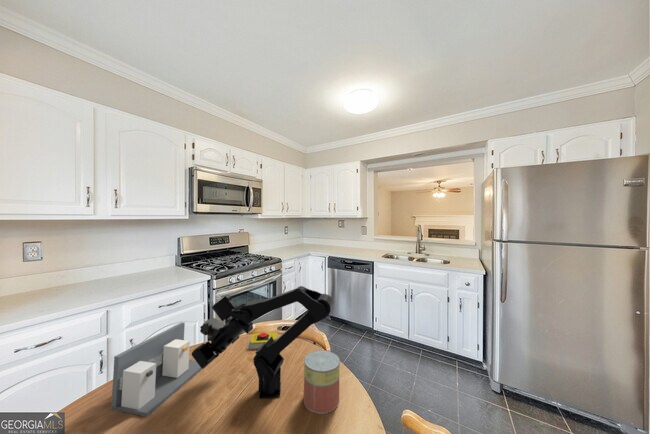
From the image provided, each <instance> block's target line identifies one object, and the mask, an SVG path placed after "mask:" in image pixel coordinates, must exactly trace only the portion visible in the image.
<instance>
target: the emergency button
mask: <svg viewBox="0 0 650 434" xmlns="http://www.w3.org/2000/svg"><path fill="white" fill-rule="evenodd" d="M251 336H252V337H251V338H250V339H251V341H249V340H248V344H247V347H246V350H248V349H250V350H258V349H259V348H260V347H261V346H262V345H263V344H264V343H265V342H267V341H268V340H269V339H270V338H271V336H272V338H273V340H274V339H277V337H278V333H277V331H275V332H274V331H273V332H258V333H257V332H255V333H253V334H252V335H251Z"/></svg>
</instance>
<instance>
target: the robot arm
mask: <svg viewBox="0 0 650 434" xmlns="http://www.w3.org/2000/svg"><path fill="white" fill-rule="evenodd" d="M294 303H299V304H300V305H301V306H303V307H304V308H305V309H306V310H307V311H306V312H304V314H303V315H302V316H301V317H300V318H299V319H297V320H296V321H295V322H293V324H292V325H291V326H290V327H288V329H286V330H285V331H284V332H283V333H282V334H281V335H280V336H277V337H278V338H277V339H274V340H273V338H272V336H271V338H270V339H269V340H268V341H267V342H265V343H264V344H263V345H262V346H261V347H260V348H259V349H256V351H255V355H254V357H253V359H252V360H253V366H254V367H255V371H256V373H257V377H258V391H257V392H258V393H259V399H267V398H276V397H280V396H281V392H282V391H281V390H282V389H281V388H282V387H281V386H282V383H281V382H282V381H281V378H282V377H281V375H282V373H281V371H282V365H283V364H284V360H285V358H284V357H283V356H282V355H281V353H282V352H283V350H285V349H286V348H288V346H289V345H290V344H292V343H293V342H294V341H295V340H296V339H297V338H298V337H299V336H300V335H302V334H303V333H304V332H305V331H306V330H307V329H308V328H309V327H311V326H312V325H314V324H316V323H319V322H321V321H323V320H324V319H326V318H327V317H329V315H330V314H331V311H332V309H333V306H334V300H333V297H331V295H329V294H328V293H321V292H319V291H316V290H313V289H310V288H307V287H305V286H302V285H300V286H298V287H296V288H293V289H291V290H288V291H285V292H283V293H280V294H277V295H274V296H272V297H269V298H264V299H263V298H260V299H253V300H251V301H249V302H248V303H247V302H246V303H241V304H239V305H238V304H237V303H235V301H234V300H233V298H232V297H231V295H230V294H227V295H224V296H223V298H221V299H219V300H218V301H217V302H215V303H214V304H213V305H212V306H211V309H212V311H213V312H214V313H215V314H216V315H217V316H218V317H217V318H219V319H220V320H221V321H220V320H218V319H217V318H215V317H211V318H209V319H206V320H205V321H204V323H203V324H202V325H201V326H200V333H201V334H202V335H204V336H209V340H208V341H206V342H205V343H204V342H203V343H201V344H200V345H199V346H197V347H196V348H195V349H193V350H192V352H191V356H192V358H193V359H194V361H196V362H197V363H198V364H199V366H200V367H201V368H203V369H204V370H205V368H206V367H207V366H209V365H210V364H211V363H212V362H213V361H214V360H215V359H216V358H218V357H219V356H220V354H222V353H223V352H225V351H226V350H227V348H228V347H229V346H231V345H233V344H235V342H236V341H238V339H240V334H242V333H243V332H245V334H247V335H248V334H249V333H251V332H252V330H253V329H254V326H253V325H254V324H253V323H254V322H255V320H257V319H259V318H260V317H262V316H264V315H265V314H267V313H270V312H272V311H275V310H278V309H280V308H283V307H285V306H288V305H292V304H294ZM224 321H228V322H227V323H225V324H223V322H224ZM203 369H202V370H203Z"/></svg>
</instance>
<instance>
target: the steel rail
mask: <svg viewBox="0 0 650 434" xmlns="http://www.w3.org/2000/svg"><path fill="white" fill-rule="evenodd" d="M148 362H151V363H156V367H157V366H159V365H160V364H162V363H163V353H161V354H159V355H158V356H156V357H154V358H153V359H151V360H149V361H148ZM122 384H123V377H122V378H120V379H119V389H118V390H122Z"/></svg>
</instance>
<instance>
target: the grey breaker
mask: <svg viewBox="0 0 650 434" xmlns="http://www.w3.org/2000/svg"><path fill="white" fill-rule="evenodd" d="M155 379H156V363H151V362H144V361H139V362H137V363H136V364H134V365H132V366H131V367H129V368H127V369H125V370H124V371H123V384H122V401H121V406H122V407H127V408H132V409H138V410H139V409H140V408H141V407H143V406H144V405H145V404H146V403H148V402H149V401H150V400H151V399H153V398H154V397H155Z"/></svg>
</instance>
